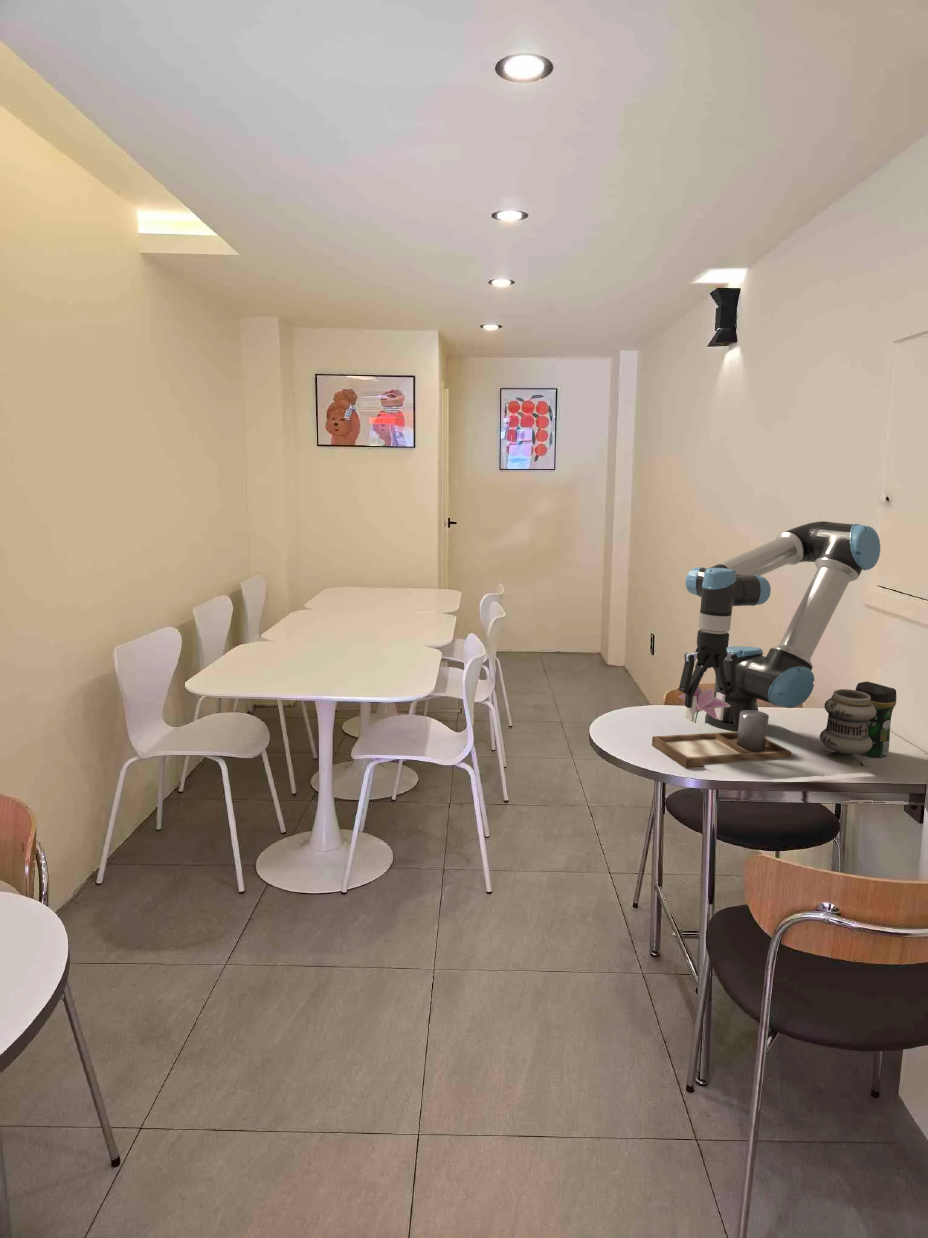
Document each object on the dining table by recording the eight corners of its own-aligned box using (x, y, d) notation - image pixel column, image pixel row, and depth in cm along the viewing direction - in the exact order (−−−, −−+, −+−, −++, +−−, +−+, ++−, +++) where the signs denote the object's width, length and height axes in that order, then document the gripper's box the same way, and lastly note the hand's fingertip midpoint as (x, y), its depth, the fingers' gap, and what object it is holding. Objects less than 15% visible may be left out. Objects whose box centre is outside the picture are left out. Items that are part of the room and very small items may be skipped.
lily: (732, 731, 197) (738, 694, 200) (699, 716, 192) (705, 679, 195) (696, 731, 207) (702, 696, 210) (663, 718, 202) (670, 682, 205)
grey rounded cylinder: (753, 742, 211) (757, 709, 210) (770, 751, 205) (774, 717, 203) (730, 743, 210) (734, 710, 208) (747, 752, 203) (750, 718, 201)
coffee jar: (841, 748, 212) (850, 681, 209) (858, 744, 217) (867, 678, 213) (876, 760, 204) (886, 690, 201) (893, 755, 209) (903, 687, 205)
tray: (750, 739, 217) (751, 730, 216) (790, 761, 201) (791, 751, 201) (651, 745, 209) (652, 736, 208) (685, 768, 193) (686, 759, 193)
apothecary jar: (818, 765, 199) (827, 696, 195) (815, 750, 210) (824, 684, 207) (872, 773, 195) (882, 702, 191) (866, 757, 206) (875, 690, 203)
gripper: (740, 627, 204) (730, 713, 208) (669, 627, 198) (660, 716, 202) (758, 633, 197) (747, 722, 201) (685, 634, 191) (676, 725, 195)
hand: (704, 719), depth 202 cm, fingers closed on lily, 7 cm apart
